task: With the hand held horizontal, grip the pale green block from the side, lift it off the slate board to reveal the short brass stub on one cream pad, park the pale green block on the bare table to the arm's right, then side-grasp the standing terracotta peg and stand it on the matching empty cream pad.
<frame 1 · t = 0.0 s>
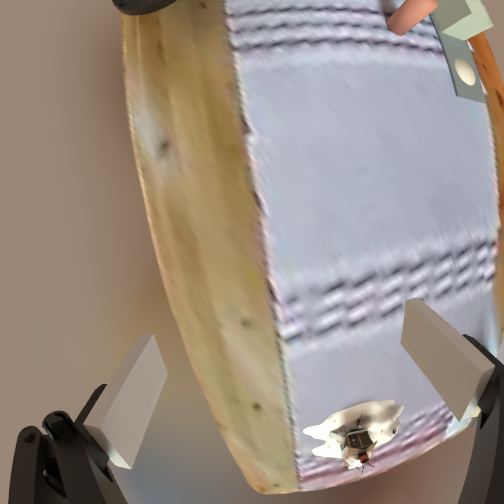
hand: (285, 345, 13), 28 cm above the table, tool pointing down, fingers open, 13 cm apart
pale green block: (447, 23, 28), point 1 cm above the table, touching board
cabin: (350, 432, 53), on the table
peg: (396, 26, 30), on the table
board: (455, 47, 30), on the table
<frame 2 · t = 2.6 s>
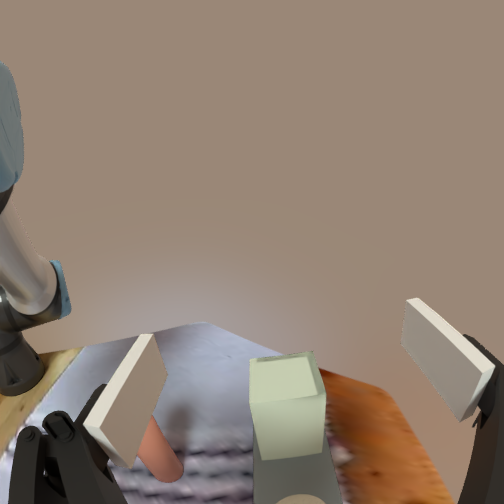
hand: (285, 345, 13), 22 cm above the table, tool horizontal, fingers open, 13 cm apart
pale green block: (289, 436, 28), point 1 cm above the table, touching board
peg: (168, 470, 24), on the table
board: (294, 475, 22), on the table
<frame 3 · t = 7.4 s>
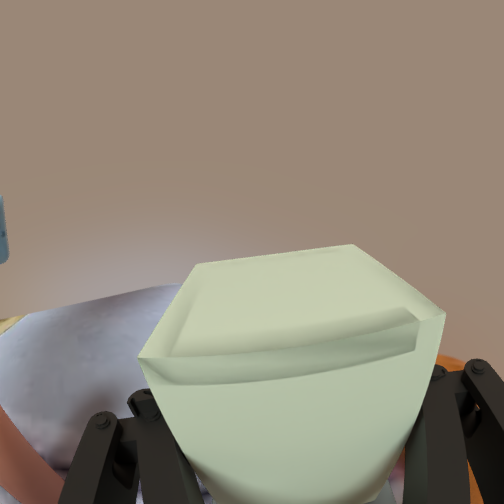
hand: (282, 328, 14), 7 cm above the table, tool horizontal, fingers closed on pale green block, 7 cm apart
pale green block: (297, 465, 11), point 1 cm above the table, touching board, gripper
peg: (51, 499, 7), on the table
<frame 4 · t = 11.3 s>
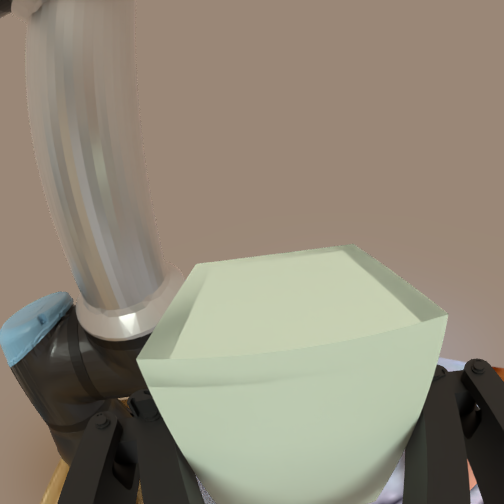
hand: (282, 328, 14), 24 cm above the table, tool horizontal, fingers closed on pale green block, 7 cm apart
pale green block: (297, 466, 11), point 17 cm above the table, touching gripper
when the fingers open (8 cm above the table, at t = 15.0 s): pale green block drops 1 cm, on the table.
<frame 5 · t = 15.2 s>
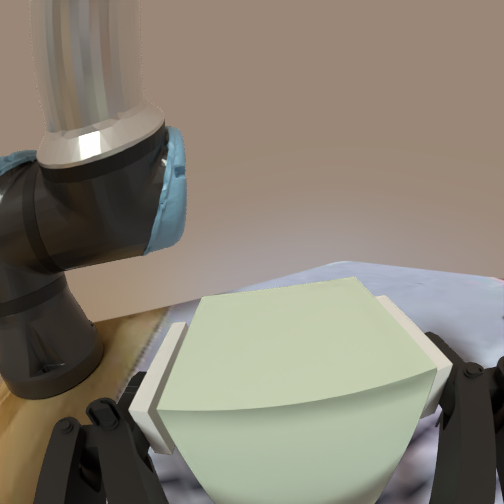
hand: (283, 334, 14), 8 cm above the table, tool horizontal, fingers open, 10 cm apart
pale green block: (298, 477, 11), on the table
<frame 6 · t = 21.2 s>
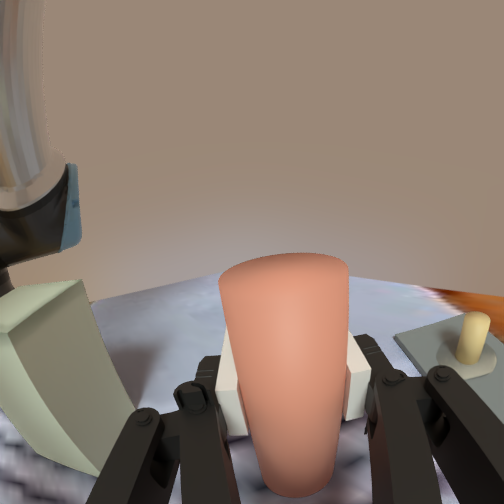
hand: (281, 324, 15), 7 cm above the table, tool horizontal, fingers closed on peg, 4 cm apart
pale green block: (85, 435, 14), on the table
peg: (297, 469, 11), on the table, touching gripper
when the fingers open (9 cm above the table, at t = 26.5 s): peg drops 1 cm, resting on board.
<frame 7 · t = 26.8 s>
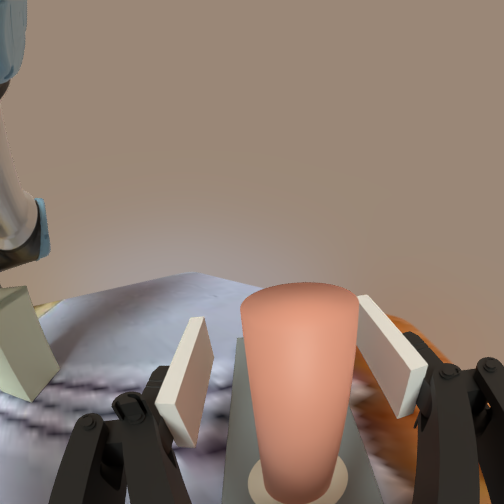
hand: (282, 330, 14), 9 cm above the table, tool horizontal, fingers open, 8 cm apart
pale green block: (29, 380, 22), on the table
peg: (297, 479, 12), point 1 cm above the table, touching board
board: (289, 418, 18), on the table
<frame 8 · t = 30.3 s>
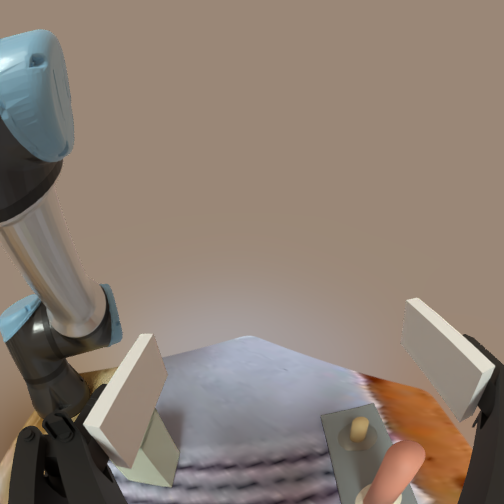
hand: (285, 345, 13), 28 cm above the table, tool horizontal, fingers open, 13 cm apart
pale green block: (154, 467, 29), on the table
peg: (378, 500, 19), point 1 cm above the table, touching board
board: (367, 468, 25), on the table
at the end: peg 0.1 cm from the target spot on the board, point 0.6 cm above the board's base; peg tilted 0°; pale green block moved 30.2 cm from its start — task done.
